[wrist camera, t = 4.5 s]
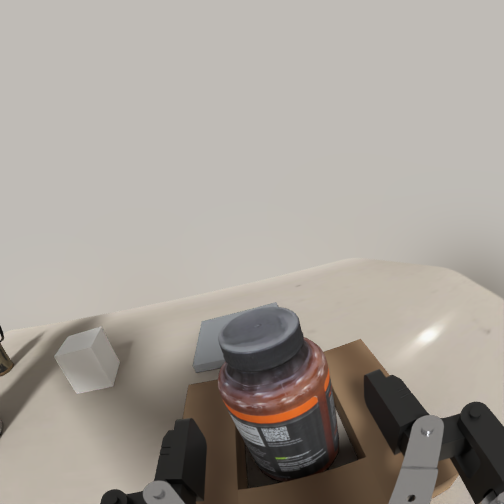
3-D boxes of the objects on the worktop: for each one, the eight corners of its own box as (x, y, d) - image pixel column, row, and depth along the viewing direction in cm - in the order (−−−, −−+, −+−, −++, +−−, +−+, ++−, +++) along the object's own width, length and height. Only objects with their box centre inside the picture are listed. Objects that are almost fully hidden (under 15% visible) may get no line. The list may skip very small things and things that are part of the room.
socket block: (184, 555, 8) (164, 546, 7) (198, 403, 23) (188, 384, 23) (449, 487, 8) (461, 471, 7) (362, 359, 23) (360, 338, 23)
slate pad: (196, 372, 28) (192, 365, 28) (204, 327, 39) (201, 321, 39) (293, 349, 29) (291, 342, 28) (277, 308, 39) (276, 302, 39)
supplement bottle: (311, 411, 19) (283, 286, 17) (356, 454, 14) (348, 318, 11) (244, 445, 17) (188, 325, 15) (278, 499, 12) (217, 383, 9)
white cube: (113, 386, 28) (90, 346, 27) (77, 394, 27) (53, 356, 25) (120, 362, 34) (101, 325, 32) (86, 370, 32) (67, 335, 31)
